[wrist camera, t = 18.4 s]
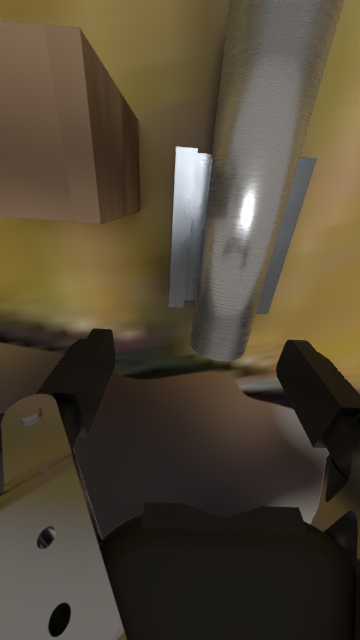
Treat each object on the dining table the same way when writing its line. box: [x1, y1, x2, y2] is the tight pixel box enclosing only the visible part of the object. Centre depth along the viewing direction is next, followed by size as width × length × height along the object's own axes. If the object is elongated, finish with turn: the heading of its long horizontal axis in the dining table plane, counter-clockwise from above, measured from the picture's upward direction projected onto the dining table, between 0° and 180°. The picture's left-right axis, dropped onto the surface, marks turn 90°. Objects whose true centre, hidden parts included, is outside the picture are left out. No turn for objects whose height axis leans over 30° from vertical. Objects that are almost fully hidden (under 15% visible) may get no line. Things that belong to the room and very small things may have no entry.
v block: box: [169, 147, 317, 314], centre depth 16 cm, size 10×8×2 cm
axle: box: [191, 0, 344, 361], centre depth 13 cm, size 18×4×4 cm, turn 176°
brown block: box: [0, 20, 140, 224], centre depth 11 cm, size 5×8×8 cm, turn 86°
